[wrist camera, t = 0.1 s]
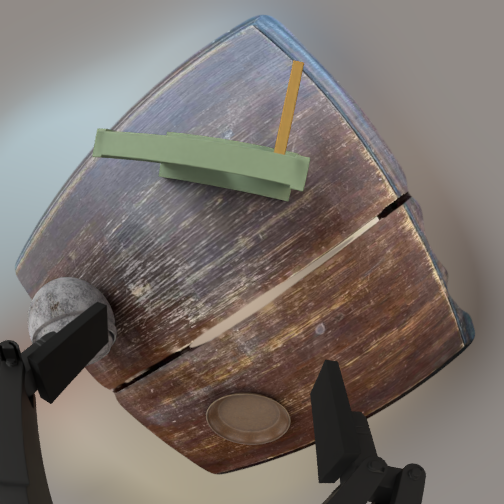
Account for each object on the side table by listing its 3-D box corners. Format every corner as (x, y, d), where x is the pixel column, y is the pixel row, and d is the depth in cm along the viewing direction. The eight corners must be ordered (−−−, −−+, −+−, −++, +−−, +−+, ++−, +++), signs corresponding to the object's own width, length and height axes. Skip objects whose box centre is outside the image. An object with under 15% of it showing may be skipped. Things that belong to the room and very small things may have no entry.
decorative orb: (105, 354, 44) (62, 402, 30) (55, 297, 43) (3, 332, 28) (146, 314, 41) (97, 368, 27) (87, 247, 39) (22, 276, 25)
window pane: (247, 82, 30) (232, 35, 18) (300, 91, 30) (311, 47, 17) (229, 160, 33) (203, 150, 20) (283, 171, 32) (287, 166, 20)
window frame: (171, 133, 34) (101, 107, 18) (298, 155, 33) (315, 133, 17) (162, 176, 36) (88, 177, 20) (287, 200, 35) (297, 217, 19)
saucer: (304, 398, 43) (305, 409, 40) (269, 442, 47) (268, 452, 44) (224, 372, 42) (221, 382, 40) (199, 420, 46) (196, 429, 44)
